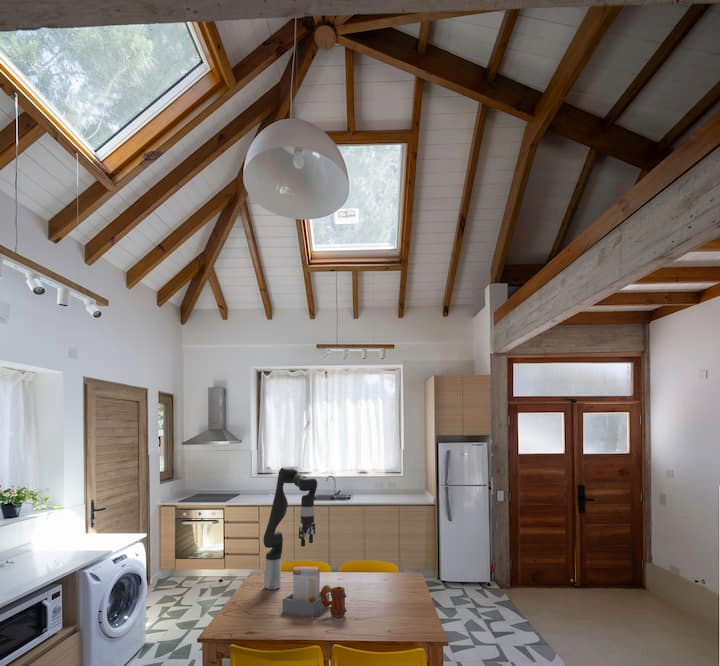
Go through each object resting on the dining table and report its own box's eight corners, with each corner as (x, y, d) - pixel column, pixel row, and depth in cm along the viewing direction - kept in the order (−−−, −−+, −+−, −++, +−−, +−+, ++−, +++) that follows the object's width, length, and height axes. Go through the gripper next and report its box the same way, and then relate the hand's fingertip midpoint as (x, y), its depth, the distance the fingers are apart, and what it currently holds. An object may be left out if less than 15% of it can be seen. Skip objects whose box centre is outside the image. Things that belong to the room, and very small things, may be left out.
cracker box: (319, 606, 309) (320, 566, 312) (317, 609, 303) (318, 569, 306) (295, 604, 311) (295, 565, 314) (292, 608, 305) (293, 568, 308)
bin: (282, 612, 303) (282, 598, 304) (300, 601, 319) (300, 588, 320) (312, 617, 295) (312, 603, 296) (329, 606, 311) (329, 593, 312)
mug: (349, 614, 299) (349, 585, 301) (343, 620, 291) (343, 589, 294) (323, 611, 304) (324, 582, 306) (317, 616, 296) (318, 586, 298)
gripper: (308, 511, 322) (307, 541, 320) (295, 516, 309) (294, 546, 307) (319, 512, 319) (319, 542, 317) (306, 517, 306) (306, 548, 304)
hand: (307, 544), depth 312 cm, fingers open, 8 cm apart
